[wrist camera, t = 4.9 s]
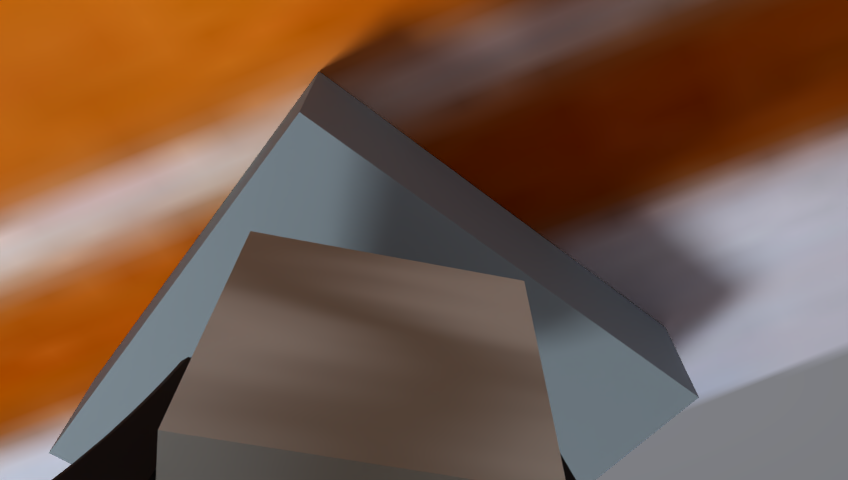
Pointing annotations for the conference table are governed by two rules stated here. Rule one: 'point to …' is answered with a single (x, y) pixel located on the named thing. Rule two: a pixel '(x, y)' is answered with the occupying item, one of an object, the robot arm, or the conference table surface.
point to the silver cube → (360, 374)
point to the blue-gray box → (413, 240)
